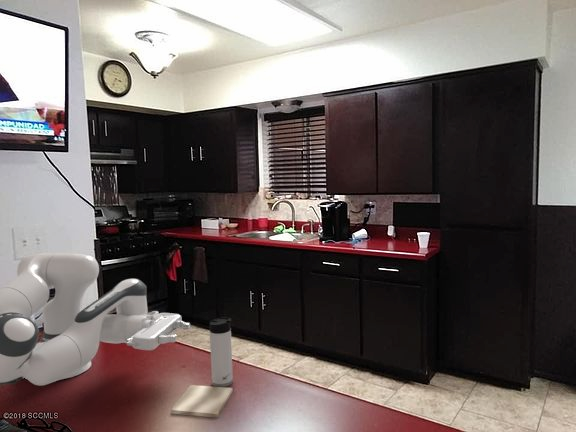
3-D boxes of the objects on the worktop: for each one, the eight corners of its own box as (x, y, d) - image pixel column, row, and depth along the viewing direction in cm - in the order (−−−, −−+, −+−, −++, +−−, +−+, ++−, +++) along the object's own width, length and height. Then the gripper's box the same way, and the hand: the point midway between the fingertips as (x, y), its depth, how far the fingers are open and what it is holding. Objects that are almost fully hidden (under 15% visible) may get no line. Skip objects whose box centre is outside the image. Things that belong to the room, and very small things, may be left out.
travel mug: (229, 388, 124) (227, 323, 122) (208, 386, 125) (205, 322, 123) (236, 378, 130) (234, 316, 128) (216, 376, 131) (213, 315, 129)
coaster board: (171, 413, 112) (171, 409, 112) (190, 388, 125) (190, 384, 125) (217, 417, 110) (217, 413, 110) (232, 391, 122) (232, 388, 122)
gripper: (121, 333, 120) (166, 335, 117) (156, 309, 140) (195, 310, 137) (123, 354, 121) (167, 357, 118) (157, 327, 140) (196, 329, 138)
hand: (183, 332), depth 128 cm, fingers open, 8 cm apart
